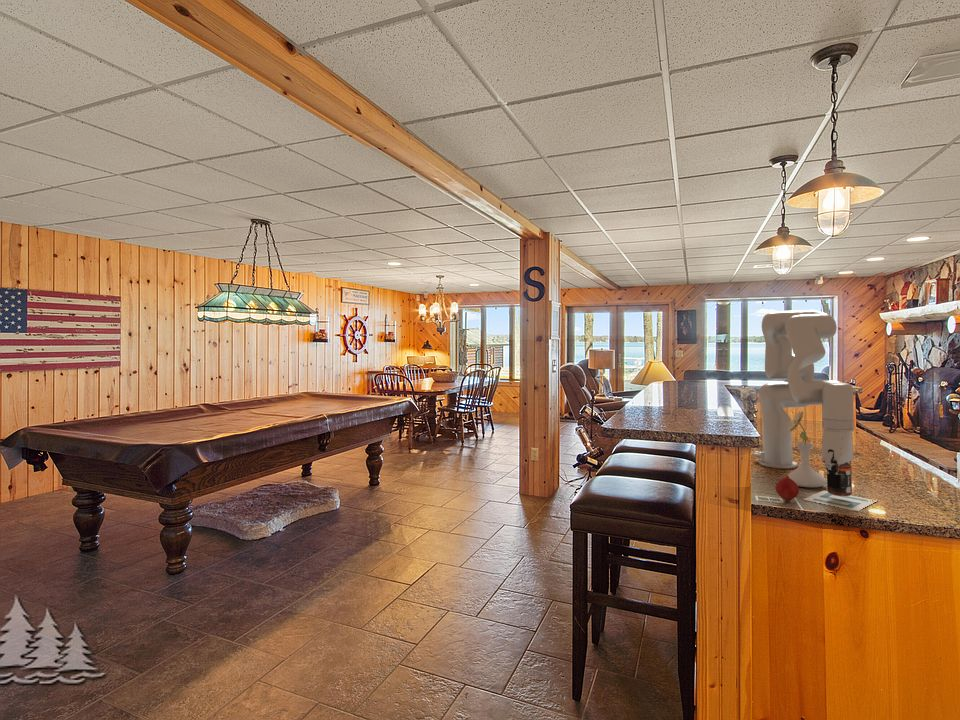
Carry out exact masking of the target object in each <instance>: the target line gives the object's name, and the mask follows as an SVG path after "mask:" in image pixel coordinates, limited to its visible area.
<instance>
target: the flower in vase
mask: <svg viewBox="0 0 960 720" xmlns="http://www.w3.org/2000/svg"><path fill="white" fill-rule="evenodd" d="M803 418H804V411H803V410H801V411H800V410H798V412H797V414H795V415H793V419H792V420H791V423H790V425H791V426H790V427H789V428H788V430H789V429H790V430H789V432H792V433H793V431H794V430H796V428H797V427H798V426H800V428H801V429H802V431H801V433H799V437H800V438H801V439H802V441H801V442H796V443H795V445H796V446H797V447H798V450H799V453H800V465H799V466H797V467H796V469H794V470H793V471H791V472H789V473H788V474H787V475H789V478H790V479H792V480H793V481H794V482H795V483H796V484H797V486H798V487H801V488H802V487H803V488H819V487H820V488H821V487H824V486H826V485H827V479H826V478H825V477H824V476H823V475H821V474H820V473H818V472H817V471H816V470H815V469H814V468H813V467H812V466H811V464H810V455H811V454H810V452H811V450H812V448H813V447H814V446H815V444H814V443H812V442H807V440H809V437H808V436H807V433H806V431H805V429H804V427H803V425H802V423H801V421H802V419H803Z"/></svg>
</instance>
